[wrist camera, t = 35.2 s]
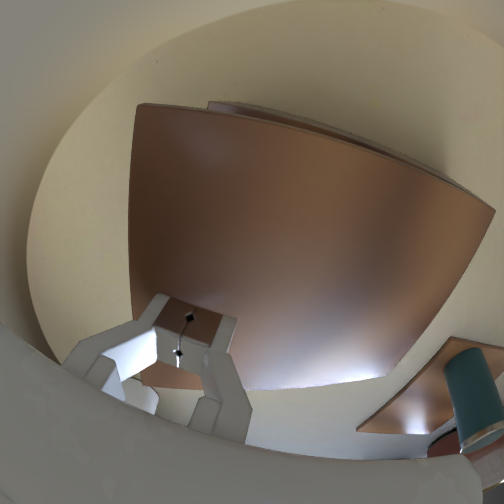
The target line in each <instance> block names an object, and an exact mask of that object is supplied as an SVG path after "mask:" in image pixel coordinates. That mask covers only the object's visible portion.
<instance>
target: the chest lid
mask: <svg viewBox="0 0 504 504" xmlns="http://www.w3.org/2000/svg"><path fill="white" fill-rule="evenodd" d="M495 212H496V210H495V209H494V208H492V207H491V206H490V205H488V204H487V203H485V202H483V201H481V200H480V199H478V198H476V197H474V196H472V195H471V194H469V193H467V192H465V191H463V190H461V189H459V188H457V187H455V186H453V185H451V184H449V183H447V182H445V181H443V180H441V179H439V178H437V177H435V176H433V175H431V174H428V173H426V172H424V171H422V170H420V169H417V168H415V167H413V166H410V165H408V164H406V163H403V162H401V161H398V160H396V159H393V158H391V157H388V156H386V155H383V154H380V153H378V152H375V151H372V150H370V149H367V148H364V147H361V146H358V145H355V144H352V143H349V142H346V141H343V140H340V139H337V138H334V137H330V136H327V135H324V134H320V133H317V132H313V131H309V130H306V129H302V128H298V127H294V126H290V125H286V124H282V123H278V122H274V121H269V120H265V119H260V118H255V117H250V116H245V115H240V114H234V113H228V112H222V111H216V110H209V109H202V108H194V107H186V106H177V105H167V104H154V103H143V104H139V105H137V108H136V115H135V123H134V131H133V140H132V151H131V163H130V178H129V202H128V253H129V276H130V292H131V304H132V315H133V320H136V321H137V320H138V319H139V318H140V316H141V315H142V313H143V312H144V310H145V309H146V308H147V306H148V305H149V303H150V302H151V301H152V299H153V298H154V296H155V295H156V294H158V293H162V294H165V295H167V296H170V297H173V298H176V299H178V300H181V301H184V302H186V303H189V304H192V305H195V306H198V307H201V308H205V309H208V310H211V311H214V312H217V313H221V314H224V315H227V316H231V317H234V318H237V323H236V327H235V330H234V334H233V337H232V341H231V344H230V348H229V351H228V354H230V355H231V357H232V360H233V362H234V365H235V368H236V370H237V373H238V375H239V378H240V380H241V383H242V385H243V388H244V390H273V389H289V388H301V387H312V386H321V385H329V384H337V383H344V382H351V381H357V380H363V379H369V378H374V377H380V376H385V375H388V373H389V372H390V371H391V370H392V369H393V368H394V367H395V366H396V365H397V363H398V362H399V361H400V360H401V359H402V358H403V357H404V355H405V354H406V353H407V352H408V351H409V350H410V348H411V347H412V346H413V345H414V343H415V342H416V341H417V340H418V338H419V337H420V336H421V335H422V333H423V332H424V331H425V330H426V328H427V327H428V326H429V324H430V323H431V322H432V320H433V319H434V317H435V316H436V315H437V313H438V312H439V311H440V309H441V308H442V306H443V305H444V303H445V302H446V300H447V299H448V297H449V296H450V294H451V293H452V291H453V290H454V288H455V287H456V285H457V284H458V282H459V280H460V279H461V277H462V275H463V274H464V272H465V270H466V269H467V267H468V265H469V264H470V262H471V260H472V258H473V256H474V255H475V253H476V251H477V249H478V247H479V245H480V243H481V241H482V240H483V238H484V236H485V234H486V232H487V229H488V227H489V225H490V223H491V221H492V219H493V217H494V214H495ZM140 374H141V380H142V385H143V386H151V387H162V388H174V389H190V390H203V386H202V382H201V378H200V376H199V375H196V374H193V373H191V372H188V371H186V370H183V369H180V368H179V367H175V366H172V365H169V364H166V363H164V362H161V361H158V360H156V362H154V363H153V364H151V365H149V366H148V367H146V368H144V369H143V370H141V371H140Z"/></svg>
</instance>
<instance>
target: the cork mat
mask: <svg viewBox="0 0 504 504" xmlns="http://www.w3.org/2000/svg"><path fill="white" fill-rule="evenodd" d="M470 348H480V349H481V350H482V351H483V354H484V356H485V359H486V361H487V363H488V366H489V368H490V371H491V374H492V376H493V379H494V381H495V380H496V379H497V378H498V377H499V376H500V374H501V373H502V372H503V371H504V348H501V347H496V346H491V345H487V344H482V343H477V342H472V341H468V340H463V339H459V338H454V337H450V338H449V339H448V341H447V342H446V343H445V344H444V345H443V347H442V348H441V349H440V350H439V351H438V352H437V353H436V355H435V356H434V357H433V358H432V359H431V360H430V361H429V362H428V363H427V365H426V366H425V367H424V368H423V369H422V370H421V371H420V372H419V373H418V374H417V375H416V376H415V377H414V378H413V379H412V380H411V381H410V382H409V383H408V384H407V385H406V386H405V387H404V388H403V389H402V390H401V391H400V392H399V393H398V394H397V395H395V396H394V397H393V398H392V399H391V400H390V401H389V402H388V403H387V404H385V405H384V406H383V407H382V408H381V409H380V410H379V411H377V412H376V413H375V414H374V415H373V416H371V417H370V418H369V419H368V420H367V421H365V422H364V423H363V424H362V425H360V426H359V427H358V428H356V432H366V433H383V434H430V433H432V432H433V431H435V430H436V429H437V428H439V427H440V426H442V425H443V424H444V423H446V422H447V421H448V420H450V419H451V418H452V417H453V416H454V412H453V407H452V403H451V399H450V395H449V391H448V388H447V384H446V380H445V377H444V368H445V366H446V365H447V363H448V362H449V361H450V360H451V359H452V358H453V357H454V356H456V355H457V354H459V353H460V352H462V351H464V350H467V349H470Z"/></svg>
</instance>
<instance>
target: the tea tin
mask: <svg viewBox="0 0 504 504" xmlns="http://www.w3.org/2000/svg"><path fill="white" fill-rule="evenodd" d="M444 377H445V380H446V384H447V388H448V391H449V395H450V399H451V403H452V407H453V412H454V416H455V421H456V426H457V431H458V436H459V442H460V453H461V454H467V453H471V452H474V451H477V450H479V449H481V448H483V447H485V446H487V445H489V444H491V443H493V442H494V441H496V440H497V439H499V438H500V437H501V436H503V435H504V409H503V405H502V402H501V399H500V396H499V393H498V390H497V387H496V384H495V382H494V379H493V376H492V374H491V371H490V368H489V366H488V363H487V361H486V359H485V356H484V354H483V351H482V350H481V349H480V348H470V349H467V350H464V351H462V352H460V353H459V354H457V355H456V356H454V357H453V358H452V359H451V360H450V361H449V362H448V363H447V365H446V366H445V368H444Z"/></svg>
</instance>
